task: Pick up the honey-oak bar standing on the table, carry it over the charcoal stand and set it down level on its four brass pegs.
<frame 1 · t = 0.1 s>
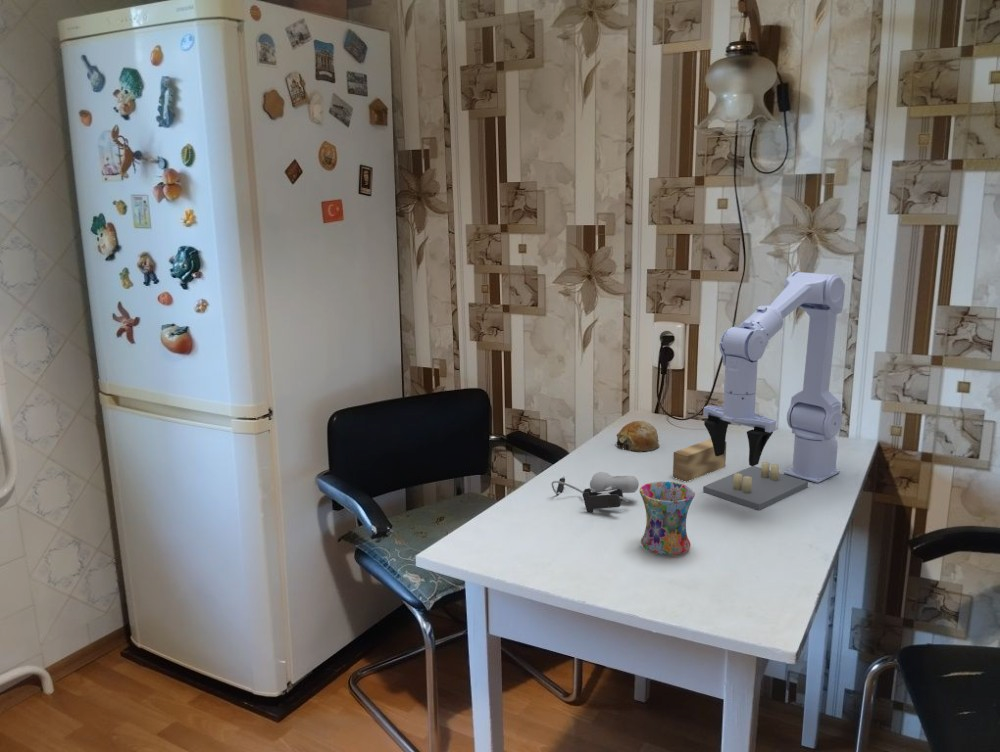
hand: (736, 459, 153), 10 cm above the table, tool pointing down, fingers open, 7 cm apart
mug: (666, 545, 140), on the table
bread roll: (637, 447, 193), on the table
oak bar: (699, 472, 175), on the table
clip-on lamp: (590, 502, 161), on the table
peg stand: (755, 489, 164), on the table
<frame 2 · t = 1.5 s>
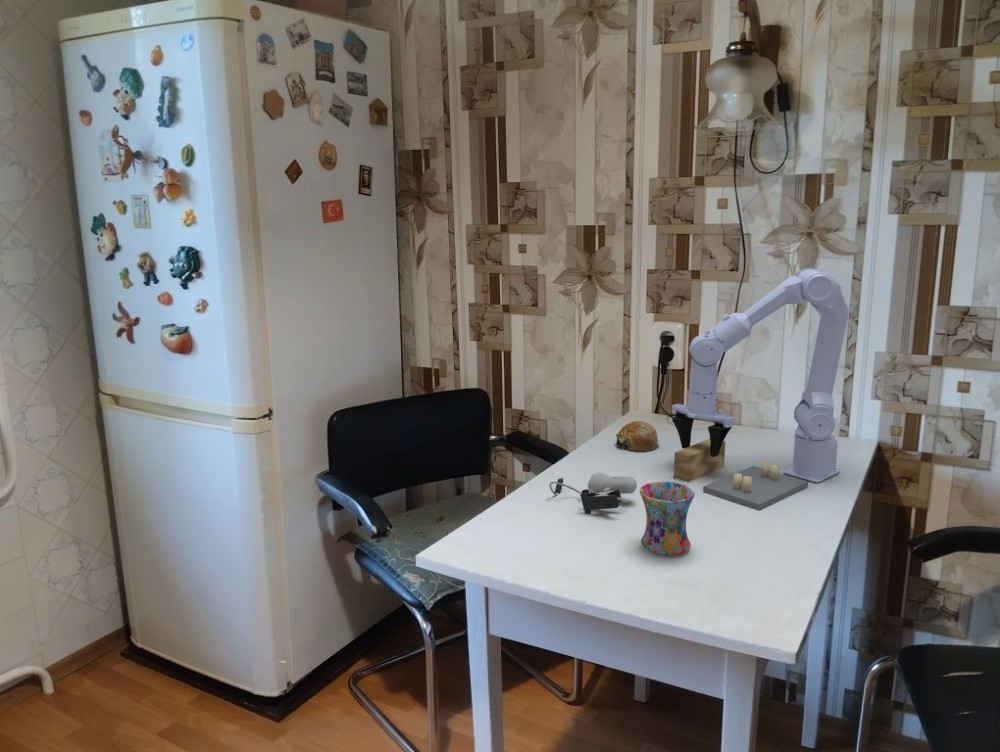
hand: (699, 451, 174), 5 cm above the table, tool pointing down, fingers open, 7 cm apart
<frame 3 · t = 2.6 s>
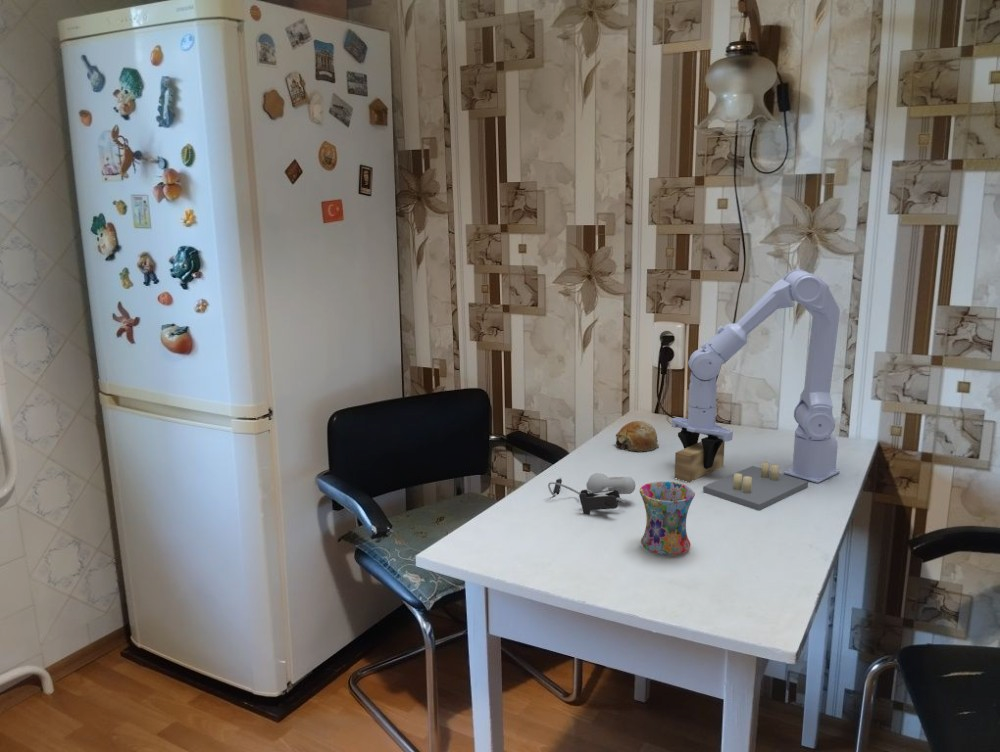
hand: (699, 464, 175), 2 cm above the table, tool pointing down, fingers closed on oak bar, 4 cm apart
oak bar: (699, 472, 175), on the table, touching gripper
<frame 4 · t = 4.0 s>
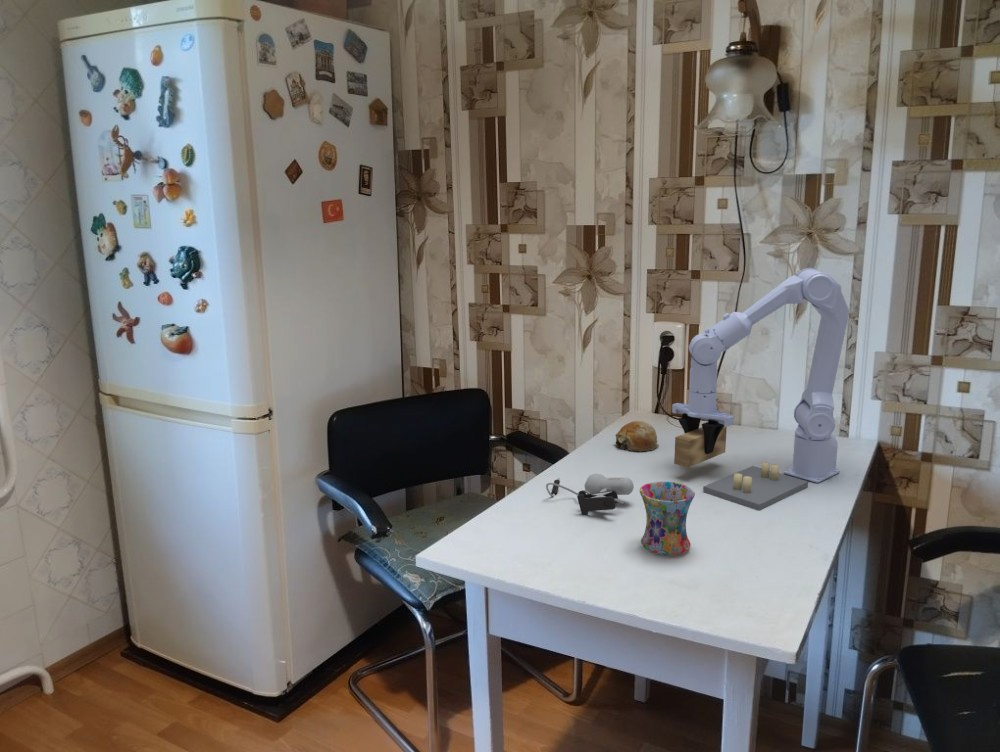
hand: (700, 450, 174), 5 cm above the table, tool pointing down, fingers closed on oak bar, 4 cm apart
oak bar: (700, 457, 174), point 3 cm above the table, touching gripper
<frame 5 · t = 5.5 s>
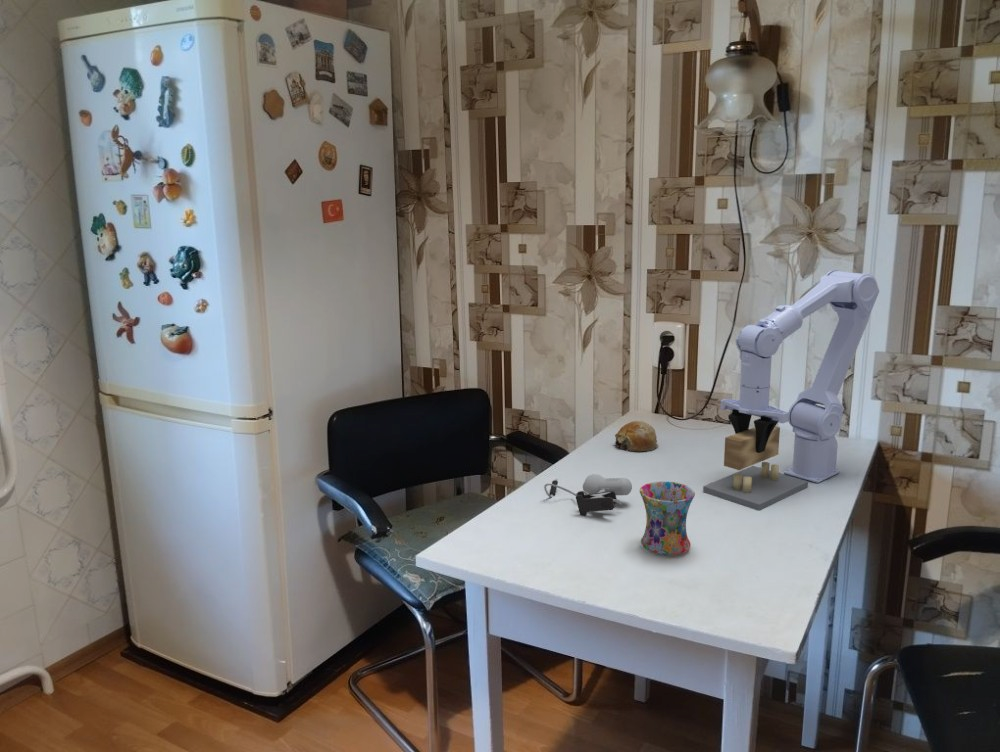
hand: (751, 449, 164), 8 cm above the table, tool pointing down, fingers closed on oak bar, 4 cm apart
oak bar: (751, 460, 164), point 6 cm above the table, touching gripper
when the fingers open (7 cm above the table, at t = 6.8 s): oak bar stays where it is, resting on peg stand.
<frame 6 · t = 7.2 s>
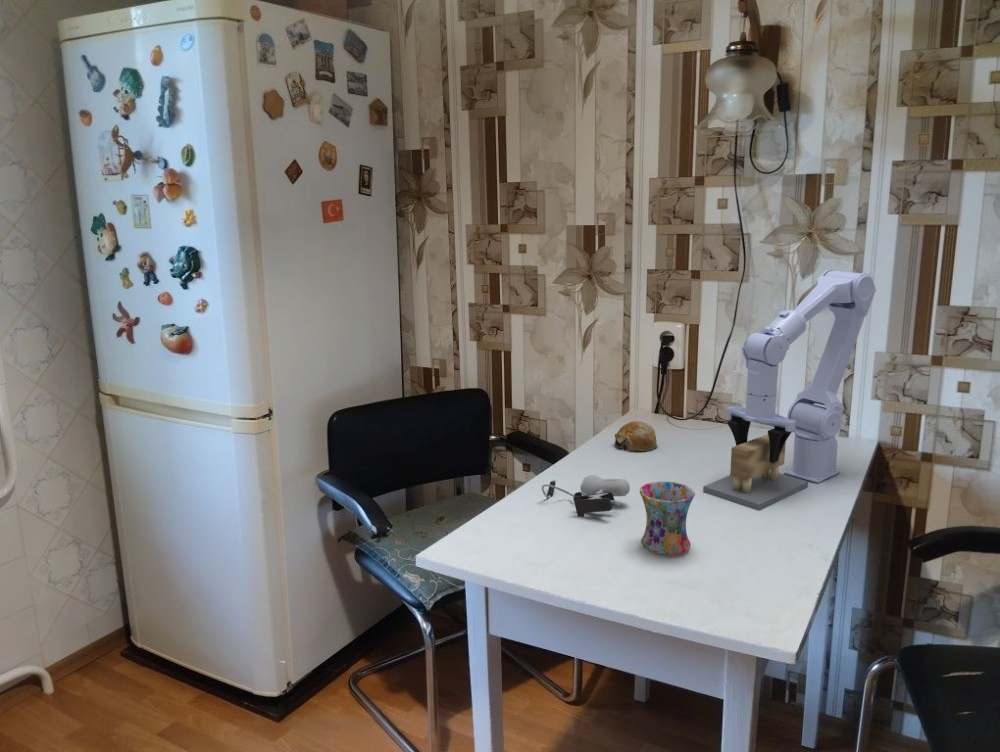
hand: (757, 457, 163), 7 cm above the table, tool pointing down, fingers open, 7 cm apart
oak bar: (757, 469, 164), point 4 cm above the table, touching peg stand
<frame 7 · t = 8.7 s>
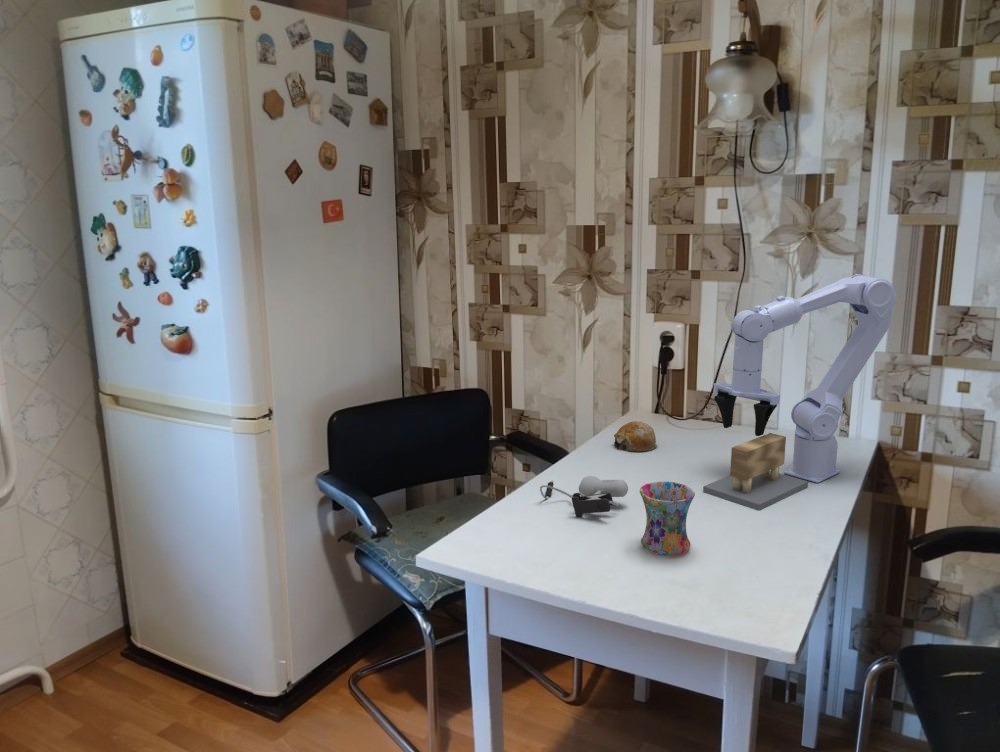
hand: (743, 430, 169), 10 cm above the table, tool pointing down, fingers open, 7 cm apart
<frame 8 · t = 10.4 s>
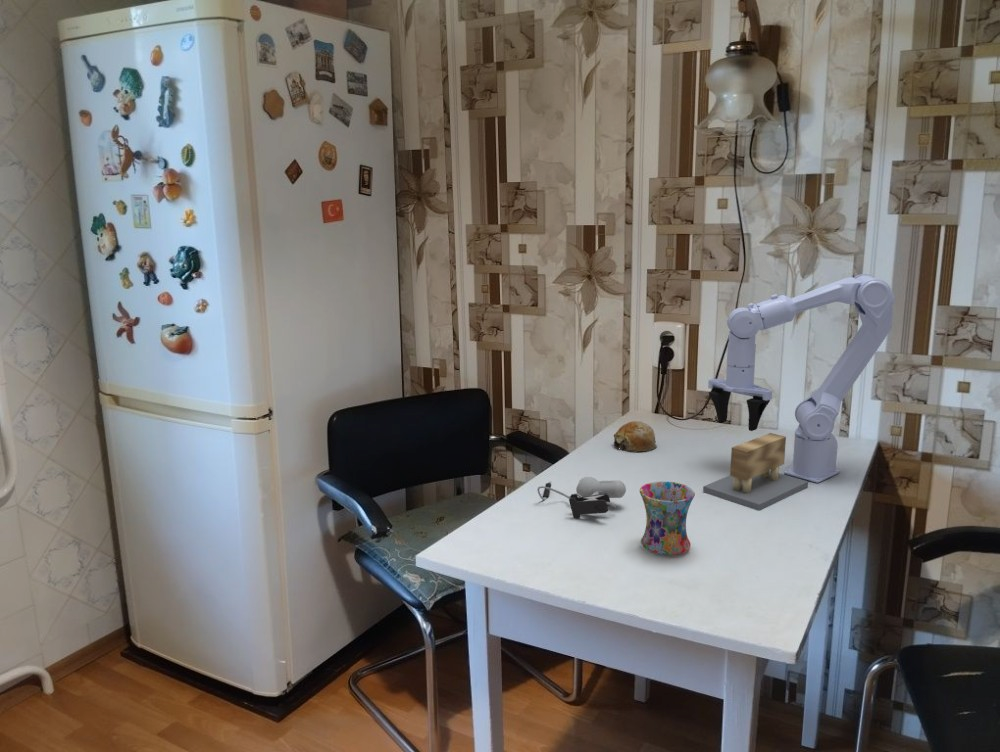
hand: (737, 425, 172), 10 cm above the table, tool pointing down, fingers open, 7 cm apart
at the end: oak bar 0.3 cm off-centre on the peg stand, point 4.2 cm above the peg stand's base; oak bar tilted 0°; the gripper is holding nothing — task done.
